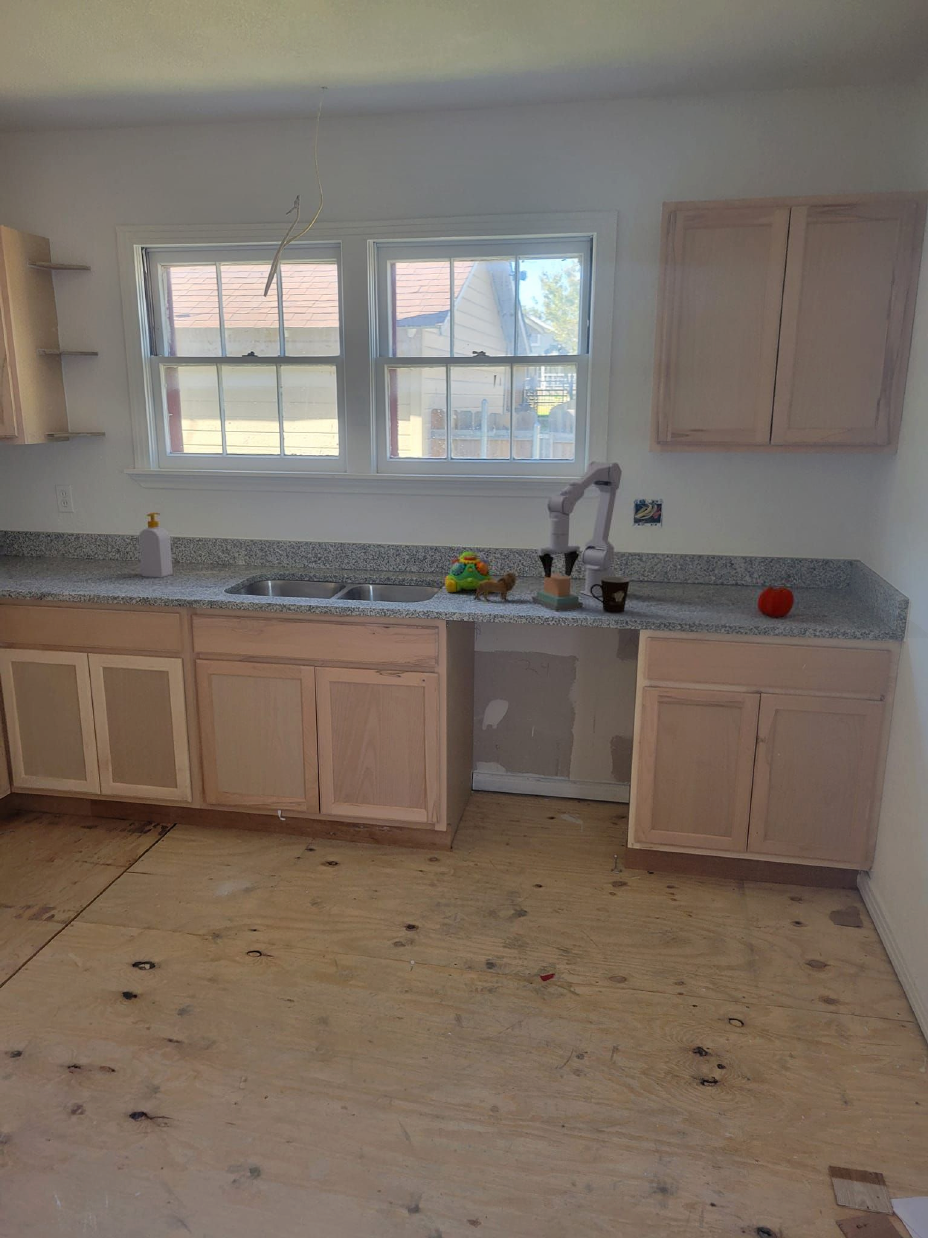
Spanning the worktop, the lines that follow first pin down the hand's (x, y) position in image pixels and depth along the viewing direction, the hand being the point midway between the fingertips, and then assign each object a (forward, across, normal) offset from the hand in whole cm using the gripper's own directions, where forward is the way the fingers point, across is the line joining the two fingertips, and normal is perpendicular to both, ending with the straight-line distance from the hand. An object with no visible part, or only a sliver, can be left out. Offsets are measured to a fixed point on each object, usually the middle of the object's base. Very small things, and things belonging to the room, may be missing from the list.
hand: (558, 576), depth 263 cm
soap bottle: (+10, +108, -102) cm, 149 cm away
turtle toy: (+10, +14, -35) cm, 39 cm away
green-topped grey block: (+9, 0, 0) cm, 9 cm away
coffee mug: (+10, -10, +13) cm, 19 cm away
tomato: (+10, -53, +40) cm, 67 cm away
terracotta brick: (+6, 0, 0) cm, 6 cm away
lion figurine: (+10, +14, -15) cm, 23 cm away
